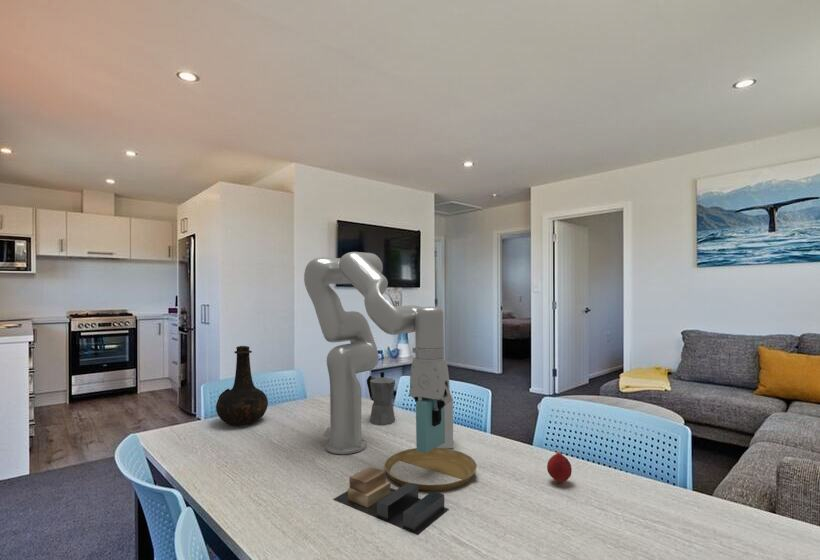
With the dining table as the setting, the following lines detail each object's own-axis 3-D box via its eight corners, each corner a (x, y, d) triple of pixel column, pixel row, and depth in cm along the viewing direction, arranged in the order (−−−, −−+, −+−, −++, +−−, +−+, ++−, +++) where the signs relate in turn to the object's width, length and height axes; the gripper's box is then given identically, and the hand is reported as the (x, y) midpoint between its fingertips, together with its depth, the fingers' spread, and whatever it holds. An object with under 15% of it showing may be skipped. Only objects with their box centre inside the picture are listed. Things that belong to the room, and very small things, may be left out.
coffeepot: (404, 422, 156) (403, 372, 157) (384, 428, 150) (384, 376, 150) (377, 413, 167) (376, 367, 168) (357, 418, 161) (357, 370, 161)
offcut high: (349, 487, 99) (349, 476, 99) (369, 476, 104) (369, 466, 104) (365, 493, 96) (365, 482, 96) (385, 482, 101) (385, 471, 101)
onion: (571, 479, 110) (571, 448, 110) (572, 489, 104) (571, 456, 104) (547, 476, 112) (547, 445, 112) (547, 486, 106) (546, 454, 106)
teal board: (416, 450, 110) (415, 401, 111) (435, 440, 118) (434, 394, 118) (426, 453, 109) (425, 403, 109) (444, 442, 116) (444, 396, 116)
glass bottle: (233, 414, 167) (232, 342, 168) (276, 416, 165) (276, 343, 165) (205, 429, 150) (204, 349, 150) (253, 431, 147) (253, 350, 148)
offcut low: (348, 499, 98) (348, 488, 98) (371, 486, 105) (371, 475, 105) (367, 507, 95) (367, 496, 95) (390, 493, 101) (390, 482, 101)
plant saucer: (373, 465, 120) (373, 453, 120) (451, 452, 129) (451, 441, 129) (402, 506, 98) (402, 492, 98) (494, 488, 106) (494, 474, 106)
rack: (332, 503, 99) (332, 486, 99) (367, 483, 108) (367, 467, 108) (417, 540, 84) (417, 519, 84) (449, 513, 94) (449, 495, 94)
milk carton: (453, 440, 138) (452, 381, 138) (453, 449, 131) (452, 386, 131) (431, 440, 138) (430, 381, 139) (429, 448, 131) (429, 386, 132)
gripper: (396, 353, 115) (397, 421, 115) (448, 358, 106) (450, 433, 105) (413, 349, 121) (413, 414, 121) (463, 354, 112) (464, 425, 111)
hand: (430, 422), depth 113 cm, fingers closed on teal board, 3 cm apart
